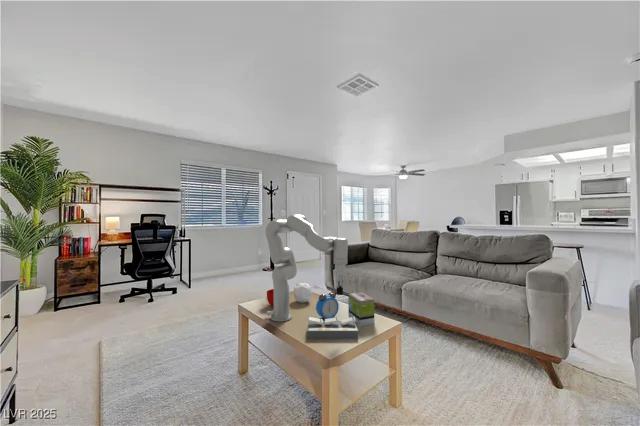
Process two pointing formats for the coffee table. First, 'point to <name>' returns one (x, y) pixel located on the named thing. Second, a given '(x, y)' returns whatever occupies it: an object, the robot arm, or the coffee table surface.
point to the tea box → (361, 308)
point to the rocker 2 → (331, 320)
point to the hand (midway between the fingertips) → (339, 294)
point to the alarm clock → (327, 306)
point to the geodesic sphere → (302, 292)
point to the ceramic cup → (270, 297)
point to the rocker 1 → (315, 320)
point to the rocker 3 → (348, 320)
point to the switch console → (332, 331)
